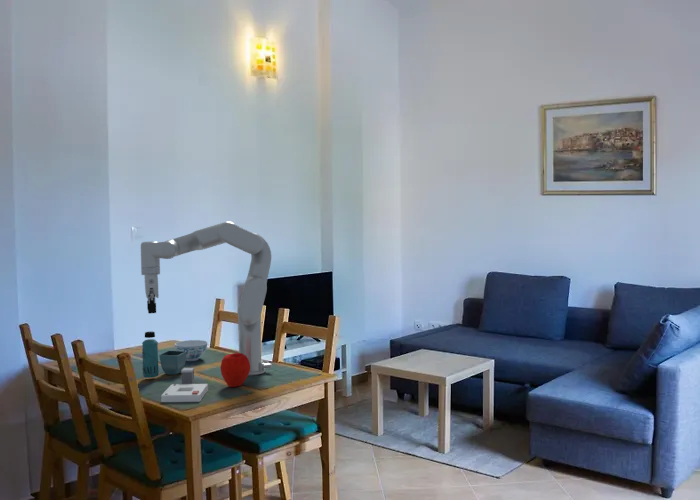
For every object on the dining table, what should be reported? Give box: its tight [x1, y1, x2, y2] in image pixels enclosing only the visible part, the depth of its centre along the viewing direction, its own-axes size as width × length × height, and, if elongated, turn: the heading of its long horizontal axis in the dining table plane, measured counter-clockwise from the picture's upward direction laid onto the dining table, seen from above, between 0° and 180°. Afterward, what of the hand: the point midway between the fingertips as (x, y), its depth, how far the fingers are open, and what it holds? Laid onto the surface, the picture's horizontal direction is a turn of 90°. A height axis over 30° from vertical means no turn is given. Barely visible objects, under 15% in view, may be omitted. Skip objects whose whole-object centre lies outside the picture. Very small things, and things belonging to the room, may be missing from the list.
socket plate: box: [160, 383, 209, 403], centre depth 261 cm, size 14×16×3 cm
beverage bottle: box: [141, 331, 160, 379], centre depth 286 cm, size 6×7×20 cm
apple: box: [220, 352, 250, 388], centre depth 274 cm, size 12×12×13 cm
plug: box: [180, 367, 195, 384], centre depth 275 cm, size 4×4×7 cm
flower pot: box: [158, 350, 187, 376], centre depth 296 cm, size 9×9×9 cm
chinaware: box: [174, 339, 208, 362], centre depth 323 cm, size 15×15×8 cm
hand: (151, 311), depth 290 cm, fingers open, 9 cm apart
